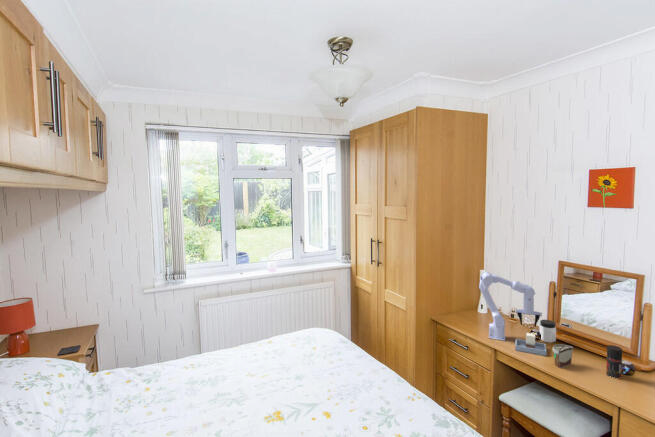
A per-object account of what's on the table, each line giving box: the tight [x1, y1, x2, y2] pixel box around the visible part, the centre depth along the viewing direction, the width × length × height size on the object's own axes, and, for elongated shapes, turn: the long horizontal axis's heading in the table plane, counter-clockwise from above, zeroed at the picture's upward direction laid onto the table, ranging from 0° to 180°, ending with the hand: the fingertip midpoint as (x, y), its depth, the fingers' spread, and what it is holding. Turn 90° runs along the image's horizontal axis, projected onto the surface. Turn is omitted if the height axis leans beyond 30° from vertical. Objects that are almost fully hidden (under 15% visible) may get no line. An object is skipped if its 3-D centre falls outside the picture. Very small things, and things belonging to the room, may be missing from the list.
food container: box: [551, 343, 574, 369], centre depth 186 cm, size 12×6×10 cm, turn 111°
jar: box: [539, 319, 557, 343], centre depth 216 cm, size 9×8×12 cm
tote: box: [514, 338, 547, 357], centre depth 204 cm, size 16×11×3 cm
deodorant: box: [605, 344, 623, 379], centre depth 173 cm, size 6×6×15 cm
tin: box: [526, 343, 535, 349], centre depth 204 cm, size 5×5×4 cm
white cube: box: [525, 332, 536, 344], centre depth 203 cm, size 4×4×4 cm
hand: (528, 325), depth 215 cm, fingers open, 7 cm apart
